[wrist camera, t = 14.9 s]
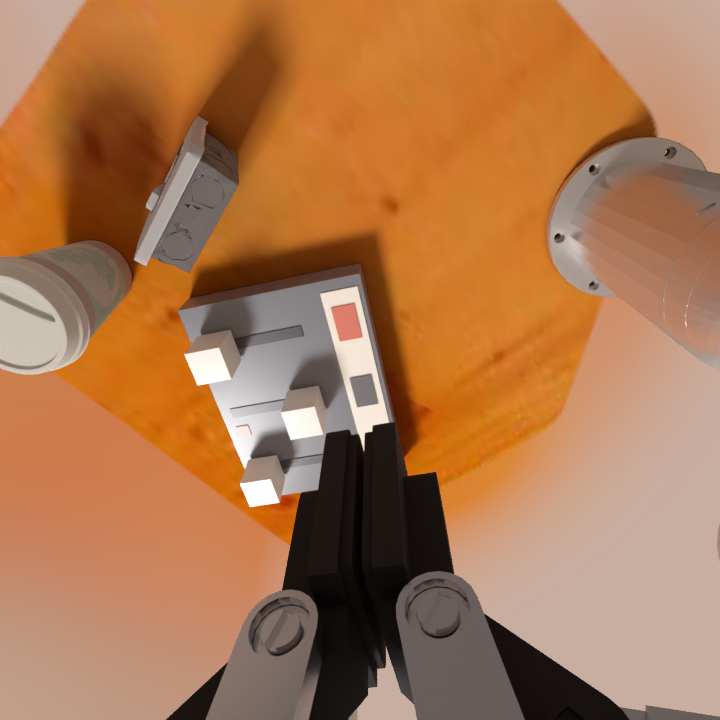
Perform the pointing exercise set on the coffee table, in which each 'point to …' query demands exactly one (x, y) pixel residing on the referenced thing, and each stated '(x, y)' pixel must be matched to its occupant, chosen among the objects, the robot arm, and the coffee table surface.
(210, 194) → the electrical switch
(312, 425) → the middle switch
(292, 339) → the switch unit
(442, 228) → the coffee table surface
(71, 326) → the coffee cup
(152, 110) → the coffee table surface
